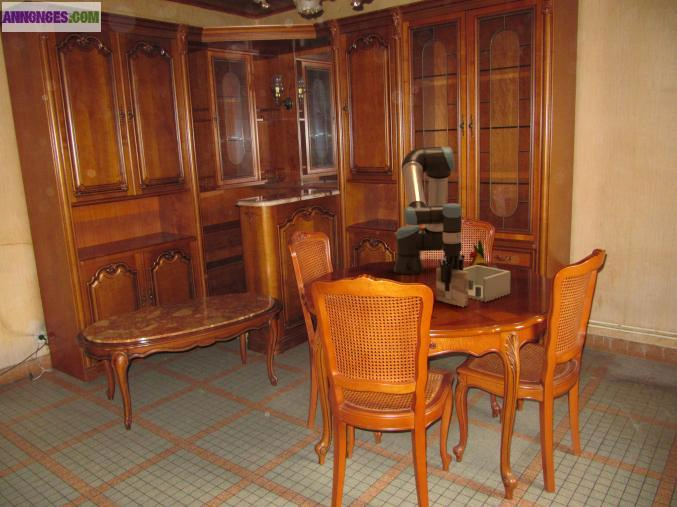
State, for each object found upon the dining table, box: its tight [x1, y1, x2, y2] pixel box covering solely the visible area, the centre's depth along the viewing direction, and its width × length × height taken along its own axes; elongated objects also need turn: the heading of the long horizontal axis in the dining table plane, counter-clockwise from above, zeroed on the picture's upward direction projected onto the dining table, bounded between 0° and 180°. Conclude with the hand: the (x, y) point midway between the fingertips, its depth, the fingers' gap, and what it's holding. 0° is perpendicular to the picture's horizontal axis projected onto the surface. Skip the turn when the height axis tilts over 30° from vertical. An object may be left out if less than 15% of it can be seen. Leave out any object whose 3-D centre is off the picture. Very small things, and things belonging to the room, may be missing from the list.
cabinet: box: [463, 265, 511, 303], centre depth 250 cm, size 17×18×10 cm
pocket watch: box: [490, 260, 499, 269], centre depth 268 cm, size 8×8×10 cm
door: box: [435, 266, 469, 308], centre depth 238 cm, size 5×14×14 cm, turn 39°
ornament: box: [468, 239, 489, 267], centre depth 292 cm, size 21×8×15 cm, turn 0°
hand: (452, 297), depth 239 cm, fingers closed on door, 3 cm apart
